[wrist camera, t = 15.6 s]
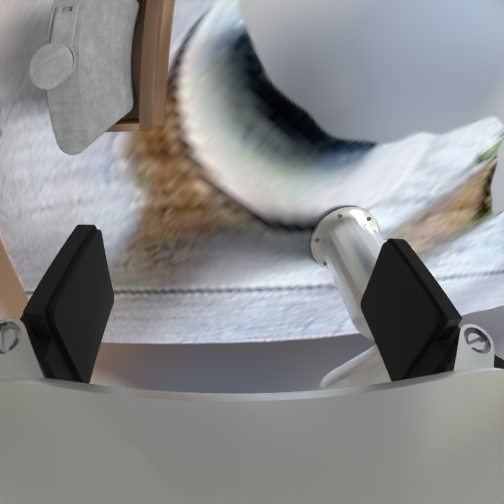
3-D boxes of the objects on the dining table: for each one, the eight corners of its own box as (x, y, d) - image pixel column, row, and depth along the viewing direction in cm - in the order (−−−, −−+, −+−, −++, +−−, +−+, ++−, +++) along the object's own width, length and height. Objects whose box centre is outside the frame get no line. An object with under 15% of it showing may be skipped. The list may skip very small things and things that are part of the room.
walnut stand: (177, -17, 28) (173, -23, 24) (165, 123, 39) (160, 131, 36) (89, -8, 26) (77, -12, 22) (84, 126, 37) (73, 133, 34)
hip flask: (136, 111, 37) (79, 165, 21) (108, 113, 36) (36, 168, 20) (142, -3, 27) (82, -39, 11) (112, 1, 27) (34, -25, 11)
